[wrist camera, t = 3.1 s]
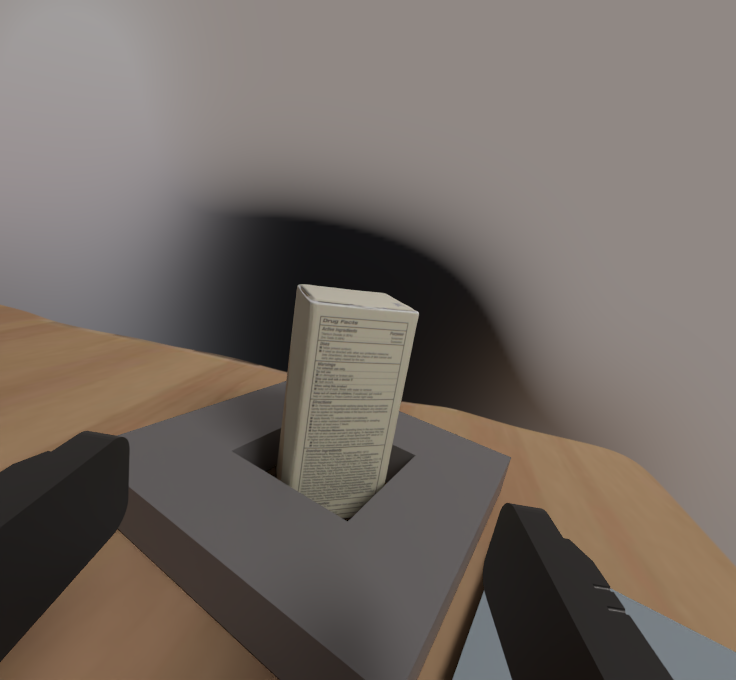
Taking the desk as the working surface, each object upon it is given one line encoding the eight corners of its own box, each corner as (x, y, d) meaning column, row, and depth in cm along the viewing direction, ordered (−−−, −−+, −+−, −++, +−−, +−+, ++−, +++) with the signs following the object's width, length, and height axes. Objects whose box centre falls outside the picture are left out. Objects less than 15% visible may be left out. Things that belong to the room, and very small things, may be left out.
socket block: (81, 494, 18) (80, 447, 17) (304, 402, 31) (309, 373, 31) (376, 769, 10) (395, 703, 10) (500, 492, 24) (511, 457, 23)
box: (356, 468, 24) (391, 293, 21) (380, 518, 20) (427, 311, 17) (270, 471, 22) (296, 280, 19) (277, 526, 18) (311, 296, 15)
